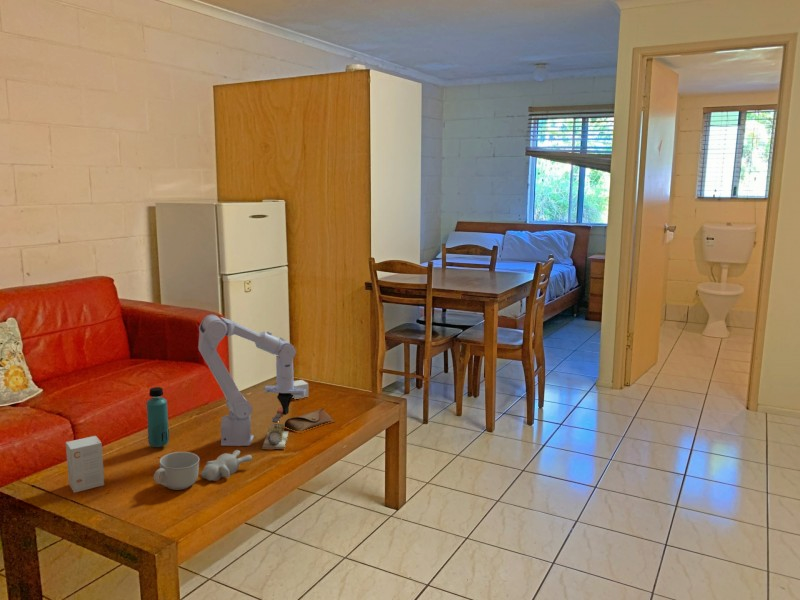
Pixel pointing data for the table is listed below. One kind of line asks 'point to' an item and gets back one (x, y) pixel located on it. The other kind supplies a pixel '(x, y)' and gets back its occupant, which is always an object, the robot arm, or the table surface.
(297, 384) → the white cube
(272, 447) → the mounting board
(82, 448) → the small box
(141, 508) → the table surface
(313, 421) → the sunglasses case
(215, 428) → the table surface
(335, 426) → the table surface
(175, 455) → the teacup
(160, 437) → the beverage bottle
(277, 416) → the valve lever
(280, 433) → the valve pipe
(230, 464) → the bunny figurine
